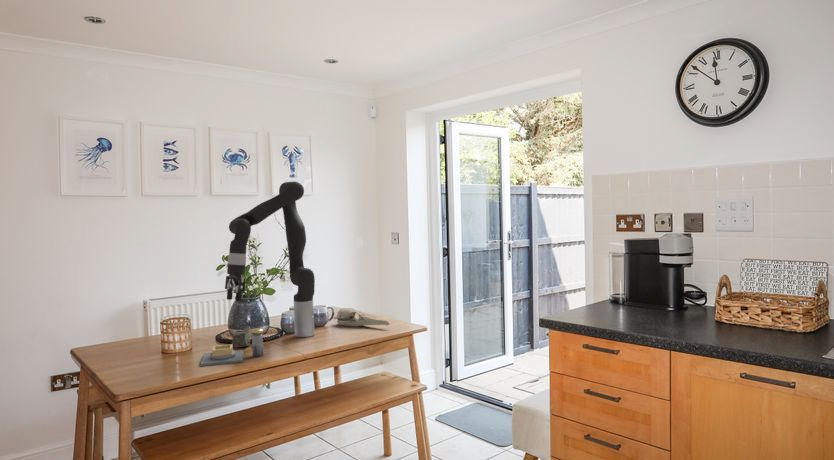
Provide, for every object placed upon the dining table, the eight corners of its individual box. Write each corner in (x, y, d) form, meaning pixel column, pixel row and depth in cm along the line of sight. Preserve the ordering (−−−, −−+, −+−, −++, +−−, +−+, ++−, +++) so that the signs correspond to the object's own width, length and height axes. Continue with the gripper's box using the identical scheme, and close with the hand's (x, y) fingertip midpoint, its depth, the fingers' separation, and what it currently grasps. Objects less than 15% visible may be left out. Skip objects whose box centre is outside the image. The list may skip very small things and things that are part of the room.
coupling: (264, 353, 232) (263, 327, 231) (264, 356, 227) (263, 330, 226) (251, 354, 230) (250, 328, 230) (251, 357, 225) (250, 331, 225)
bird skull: (386, 326, 269) (383, 306, 269) (334, 329, 284) (331, 310, 284) (394, 323, 277) (392, 303, 277) (343, 325, 292) (341, 307, 292)
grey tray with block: (243, 352, 235) (243, 340, 234) (242, 362, 219) (242, 350, 219) (204, 355, 230) (203, 344, 230) (200, 366, 215) (200, 354, 214)
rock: (227, 332, 254) (248, 324, 258) (232, 345, 255) (253, 337, 259) (230, 338, 238) (252, 330, 242) (235, 353, 239) (257, 344, 243)
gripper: (252, 264, 235) (249, 302, 234) (237, 263, 246) (234, 298, 245) (236, 264, 230) (232, 302, 229) (221, 262, 240) (218, 298, 239)
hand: (233, 300), depth 237 cm, fingers open, 8 cm apart
